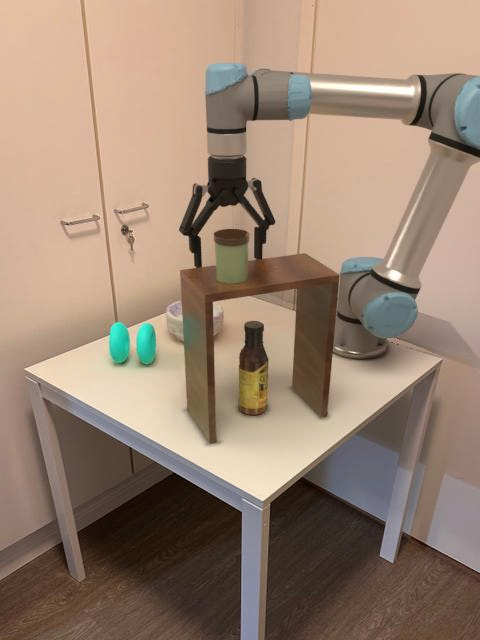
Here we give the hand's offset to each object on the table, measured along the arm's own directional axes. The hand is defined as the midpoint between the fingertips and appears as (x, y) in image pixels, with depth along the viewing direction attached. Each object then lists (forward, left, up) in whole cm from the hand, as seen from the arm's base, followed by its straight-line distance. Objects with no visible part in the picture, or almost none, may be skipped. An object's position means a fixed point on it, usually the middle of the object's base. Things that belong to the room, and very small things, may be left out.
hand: (228, 263), depth 133 cm
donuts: (+23, -12, -29) cm, 39 cm away
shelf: (-5, +14, -29) cm, 32 cm away
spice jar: (0, +17, +3) cm, 17 cm away
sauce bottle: (-5, +12, -29) cm, 32 cm away
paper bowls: (+8, -26, -29) cm, 39 cm away
